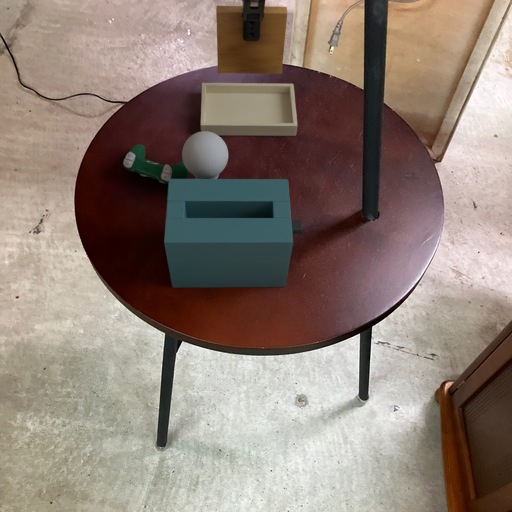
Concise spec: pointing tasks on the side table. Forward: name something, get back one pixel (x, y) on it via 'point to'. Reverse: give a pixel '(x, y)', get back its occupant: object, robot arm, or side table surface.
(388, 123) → the side table surface
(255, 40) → the robot arm
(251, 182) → the toaster
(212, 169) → the light bulb
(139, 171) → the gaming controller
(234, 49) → the toast
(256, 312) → the side table surface
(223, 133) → the tray
